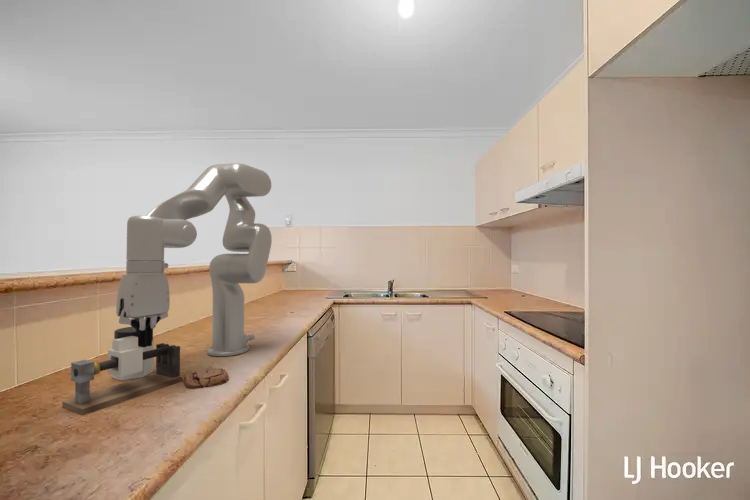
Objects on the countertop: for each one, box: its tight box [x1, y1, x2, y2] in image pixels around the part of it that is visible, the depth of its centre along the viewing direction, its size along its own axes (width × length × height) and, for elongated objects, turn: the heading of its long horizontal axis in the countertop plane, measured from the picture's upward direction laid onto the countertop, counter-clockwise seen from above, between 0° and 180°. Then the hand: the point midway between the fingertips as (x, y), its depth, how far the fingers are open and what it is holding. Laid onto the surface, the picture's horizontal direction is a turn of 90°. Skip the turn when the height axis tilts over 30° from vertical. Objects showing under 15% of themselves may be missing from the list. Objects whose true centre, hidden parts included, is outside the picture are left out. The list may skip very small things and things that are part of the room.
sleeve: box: [107, 336, 143, 377], centre depth 80 cm, size 4×5×8 cm
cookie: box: [183, 366, 230, 389], centre depth 88 cm, size 10×11×3 cm
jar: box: [111, 326, 155, 382], centre depth 92 cm, size 9×8×12 cm
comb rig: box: [61, 342, 184, 416], centre depth 81 cm, size 21×8×9 cm, turn 154°
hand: (144, 345), depth 84 cm, fingers closed
